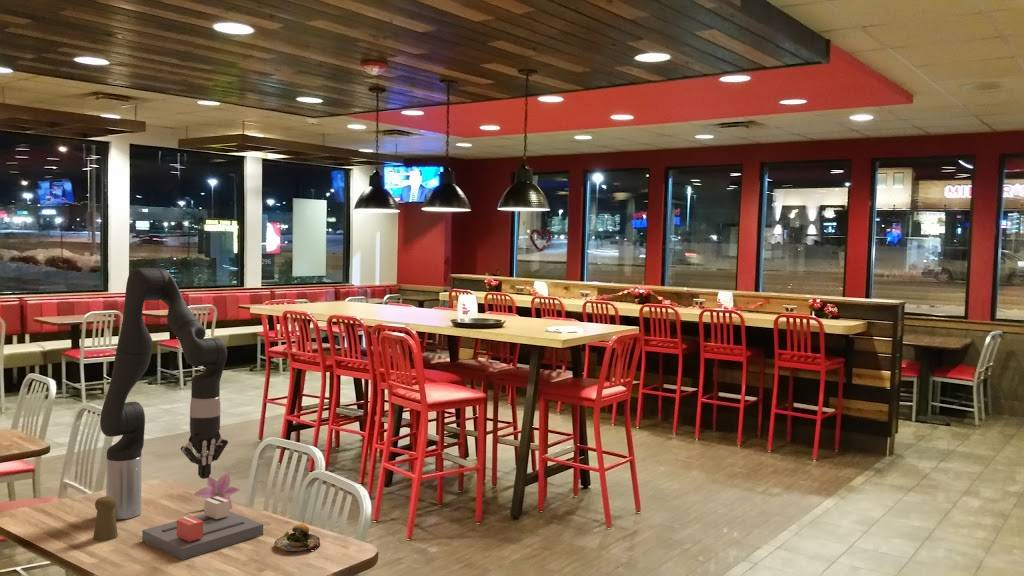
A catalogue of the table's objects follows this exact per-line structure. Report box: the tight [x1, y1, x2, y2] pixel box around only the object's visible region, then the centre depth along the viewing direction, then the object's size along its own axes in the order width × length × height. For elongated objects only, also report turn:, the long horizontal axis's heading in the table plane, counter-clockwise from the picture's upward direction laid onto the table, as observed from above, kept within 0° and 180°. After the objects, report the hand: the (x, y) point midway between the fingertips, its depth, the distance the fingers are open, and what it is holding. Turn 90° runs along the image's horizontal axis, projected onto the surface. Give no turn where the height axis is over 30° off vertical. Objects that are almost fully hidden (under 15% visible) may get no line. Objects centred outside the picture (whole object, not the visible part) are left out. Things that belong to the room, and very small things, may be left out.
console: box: [141, 510, 264, 561], centre depth 217 cm, size 20×24×3 cm
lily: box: [193, 471, 241, 511], centre depth 243 cm, size 12×12×10 cm
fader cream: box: [203, 496, 230, 519], centre depth 225 cm, size 6×4×5 cm, turn 53°
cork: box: [92, 496, 119, 542], centre depth 215 cm, size 6×6×11 cm
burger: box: [273, 519, 321, 552], centre depth 212 cm, size 12×12×8 cm
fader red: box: [176, 515, 203, 542], centre depth 208 cm, size 6×4×5 cm, turn 53°
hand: (204, 477), depth 210 cm, fingers closed
